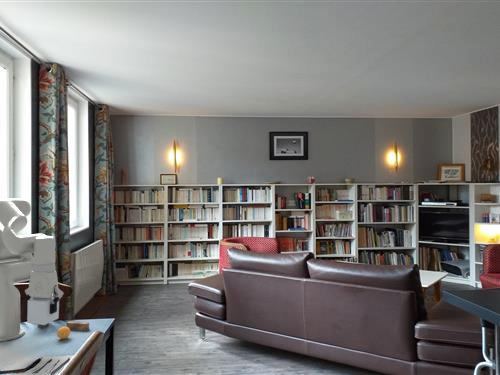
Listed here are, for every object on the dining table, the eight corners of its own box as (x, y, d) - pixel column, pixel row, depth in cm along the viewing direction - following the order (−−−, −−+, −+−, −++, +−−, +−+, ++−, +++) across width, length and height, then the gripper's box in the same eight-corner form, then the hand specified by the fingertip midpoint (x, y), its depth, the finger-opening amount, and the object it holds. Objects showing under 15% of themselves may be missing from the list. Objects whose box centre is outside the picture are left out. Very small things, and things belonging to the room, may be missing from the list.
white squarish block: (27, 323, 147) (27, 300, 147) (41, 316, 155) (42, 294, 155) (44, 325, 146) (45, 302, 146) (58, 318, 153) (59, 296, 153)
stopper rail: (66, 329, 171) (66, 322, 171) (69, 327, 173) (69, 321, 173) (86, 330, 169) (86, 324, 169) (89, 329, 171) (89, 322, 171)
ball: (64, 328, 164) (59, 340, 161) (57, 324, 161) (52, 336, 158) (74, 329, 163) (69, 341, 160) (67, 325, 159) (62, 337, 156)
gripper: (17, 268, 148) (17, 313, 149) (57, 271, 145) (56, 317, 145) (32, 264, 156) (32, 307, 156) (70, 267, 152) (69, 310, 152)
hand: (43, 311), depth 150 cm, fingers closed on white squarish block, 7 cm apart
